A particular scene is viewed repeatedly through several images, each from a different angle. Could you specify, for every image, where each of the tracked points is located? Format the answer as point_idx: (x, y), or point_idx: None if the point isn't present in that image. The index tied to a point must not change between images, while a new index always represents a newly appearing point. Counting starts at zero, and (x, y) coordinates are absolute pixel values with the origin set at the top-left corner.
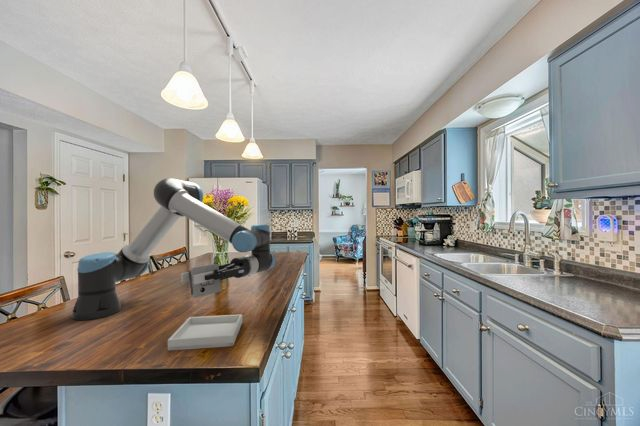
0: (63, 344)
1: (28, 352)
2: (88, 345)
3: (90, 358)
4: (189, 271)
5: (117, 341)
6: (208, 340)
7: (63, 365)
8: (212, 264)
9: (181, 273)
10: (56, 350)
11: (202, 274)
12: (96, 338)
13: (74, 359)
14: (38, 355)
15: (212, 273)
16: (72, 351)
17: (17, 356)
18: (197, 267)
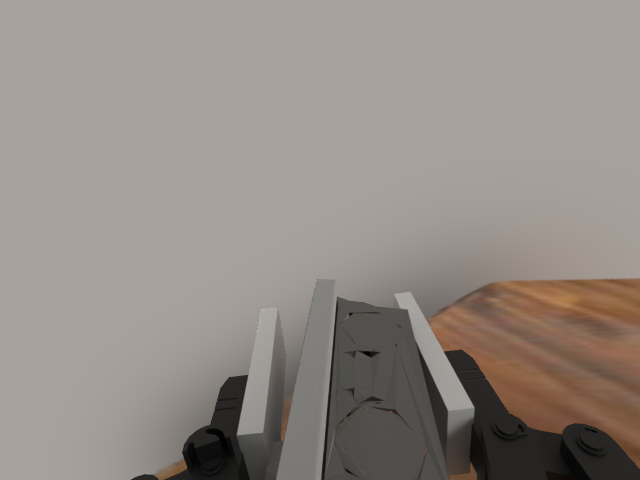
0: (601, 328)
1: (580, 295)
2: (556, 354)
3: (454, 346)
4: (391, 311)
5: (545, 400)
6: None
7: (453, 319)
8: (302, 423)
9: (410, 292)
10: (560, 318)
11: (255, 349)
12: (614, 373)
13: (473, 331)
14: (547, 302)
15: (241, 442)
16: (530, 333)
17: (564, 287)
18: (312, 299)
